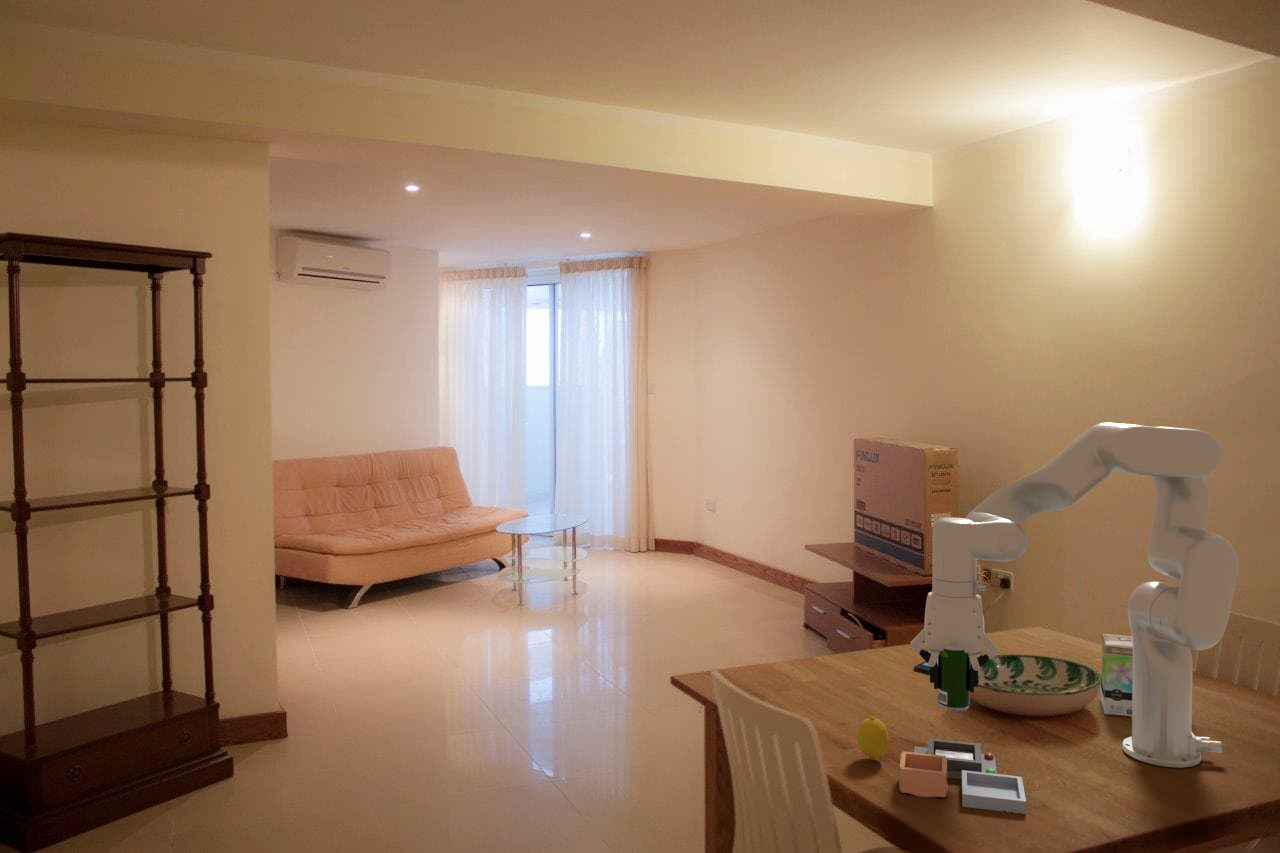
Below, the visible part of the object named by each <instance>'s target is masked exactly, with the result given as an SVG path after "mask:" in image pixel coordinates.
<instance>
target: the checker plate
mask: <svg viewBox="0 0 1280 853" xmlns="http://www.w3.org/2000/svg"><path fill="white" fill-rule="evenodd" d="M935 755H942V756H946V757H949V758H958V759H968V760H973V752H970V751H960V750H951V749H941V748H936V752H935Z"/></svg>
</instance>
